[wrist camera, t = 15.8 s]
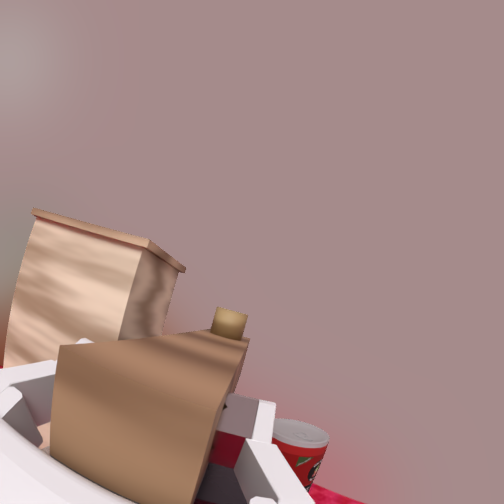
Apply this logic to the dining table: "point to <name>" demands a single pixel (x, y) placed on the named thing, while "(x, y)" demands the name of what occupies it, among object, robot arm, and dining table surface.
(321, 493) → the dining table surface
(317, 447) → the canned food
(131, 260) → the shelf block
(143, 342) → the bar
